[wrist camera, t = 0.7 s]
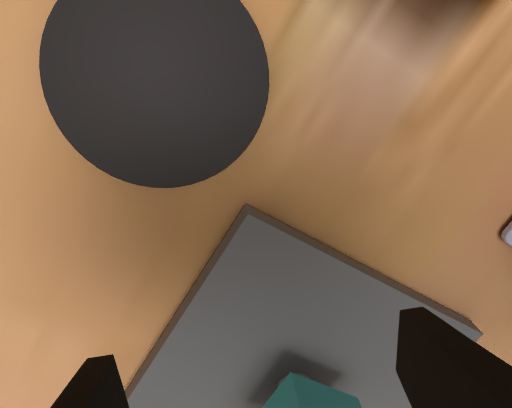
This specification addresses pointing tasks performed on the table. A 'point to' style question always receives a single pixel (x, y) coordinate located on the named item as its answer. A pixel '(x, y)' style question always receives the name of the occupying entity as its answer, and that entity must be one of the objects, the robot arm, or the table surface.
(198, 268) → the table surface
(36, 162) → the table surface
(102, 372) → the robot arm
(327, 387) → the teal cube
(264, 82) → the coaster
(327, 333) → the post base
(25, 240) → the table surface
